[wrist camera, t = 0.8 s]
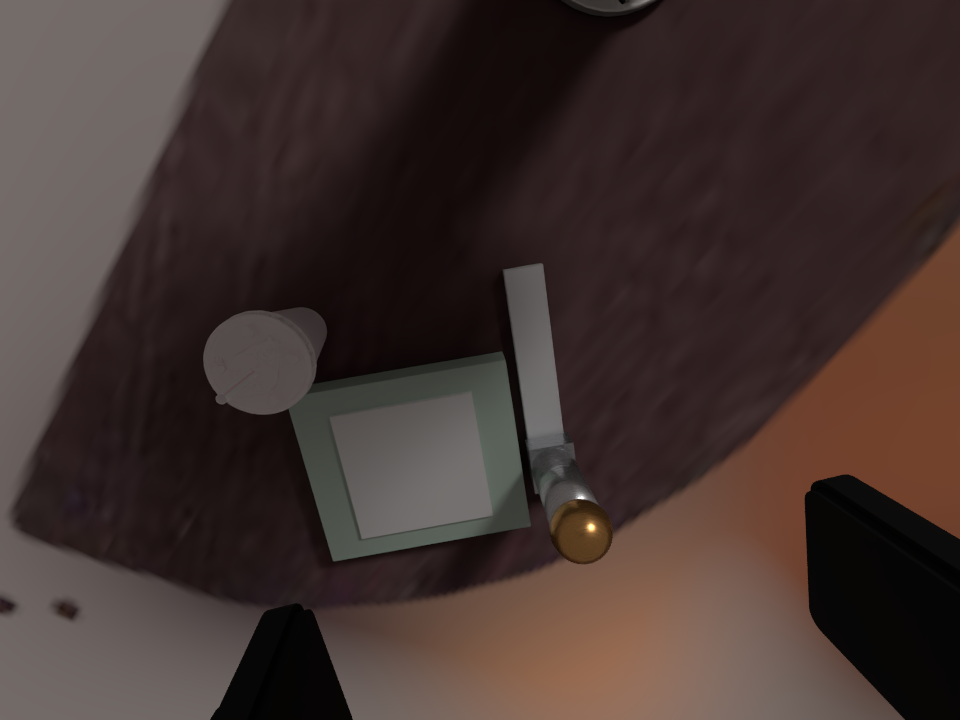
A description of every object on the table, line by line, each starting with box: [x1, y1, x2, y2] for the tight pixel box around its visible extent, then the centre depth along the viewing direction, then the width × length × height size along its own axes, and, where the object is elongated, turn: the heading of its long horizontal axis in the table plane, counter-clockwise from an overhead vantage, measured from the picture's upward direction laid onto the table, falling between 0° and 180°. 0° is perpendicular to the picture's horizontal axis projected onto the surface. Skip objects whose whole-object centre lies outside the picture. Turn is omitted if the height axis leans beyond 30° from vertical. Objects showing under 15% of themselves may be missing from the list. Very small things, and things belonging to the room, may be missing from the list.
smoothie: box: [203, 307, 327, 415], centre depth 32 cm, size 6×6×14 cm
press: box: [288, 263, 563, 562], centre depth 40 cm, size 22×21×3 cm
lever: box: [525, 432, 613, 564], centre depth 36 cm, size 4×4×12 cm
